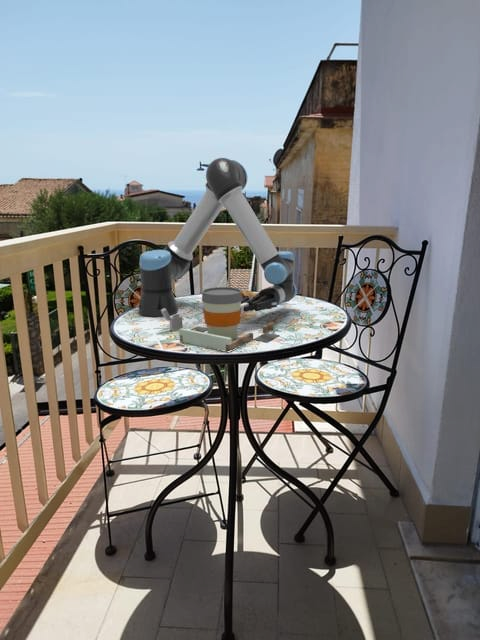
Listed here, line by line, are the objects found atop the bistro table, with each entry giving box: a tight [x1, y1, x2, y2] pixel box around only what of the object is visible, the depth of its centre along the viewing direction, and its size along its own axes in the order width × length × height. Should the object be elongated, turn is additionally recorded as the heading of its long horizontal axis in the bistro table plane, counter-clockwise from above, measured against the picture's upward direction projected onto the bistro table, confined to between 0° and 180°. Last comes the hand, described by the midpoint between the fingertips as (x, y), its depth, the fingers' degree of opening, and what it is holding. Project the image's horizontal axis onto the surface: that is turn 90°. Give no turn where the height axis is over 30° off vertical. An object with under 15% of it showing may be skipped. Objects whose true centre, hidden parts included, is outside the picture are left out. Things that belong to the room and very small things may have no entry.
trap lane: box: [179, 322, 280, 351], centre depth 137 cm, size 27×28×2 cm
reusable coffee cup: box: [201, 286, 242, 341], centre depth 133 cm, size 13×13×15 cm
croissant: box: [240, 289, 259, 299], centre depth 178 cm, size 21×10×8 cm, turn 122°
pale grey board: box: [178, 328, 233, 352], centre depth 126 cm, size 1×18×4 cm, turn 57°
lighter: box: [161, 308, 184, 332], centre depth 141 cm, size 7×2×8 cm, turn 126°
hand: (236, 310), depth 137 cm, fingers closed
